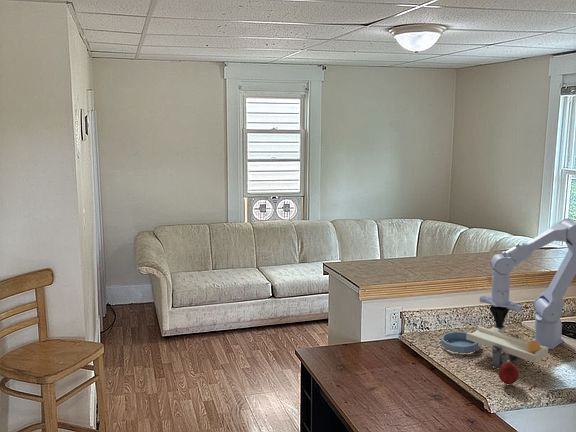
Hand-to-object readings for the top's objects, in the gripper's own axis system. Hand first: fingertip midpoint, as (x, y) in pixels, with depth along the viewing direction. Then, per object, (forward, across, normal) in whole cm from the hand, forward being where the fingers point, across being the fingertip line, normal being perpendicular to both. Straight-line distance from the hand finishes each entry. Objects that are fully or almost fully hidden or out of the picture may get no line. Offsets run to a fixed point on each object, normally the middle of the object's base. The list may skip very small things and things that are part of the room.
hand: (499, 326), depth 198 cm
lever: (+1, +8, -6) cm, 10 cm away
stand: (+7, +8, -10) cm, 15 cm away
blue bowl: (+7, -9, -10) cm, 15 cm away
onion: (+7, +16, -24) cm, 29 cm away
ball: (-2, +17, -10) cm, 20 cm away
